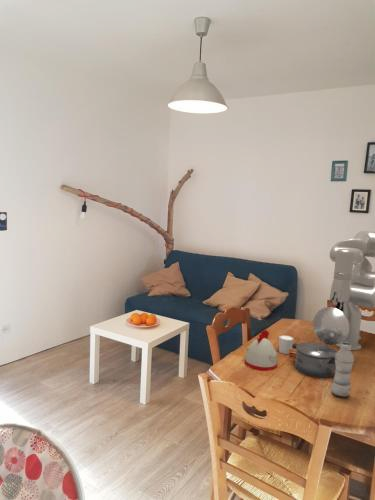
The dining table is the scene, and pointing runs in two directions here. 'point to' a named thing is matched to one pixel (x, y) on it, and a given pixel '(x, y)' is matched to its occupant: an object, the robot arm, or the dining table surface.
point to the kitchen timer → (261, 354)
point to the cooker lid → (331, 326)
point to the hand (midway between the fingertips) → (338, 316)
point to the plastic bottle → (342, 370)
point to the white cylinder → (285, 344)
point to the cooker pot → (315, 359)
